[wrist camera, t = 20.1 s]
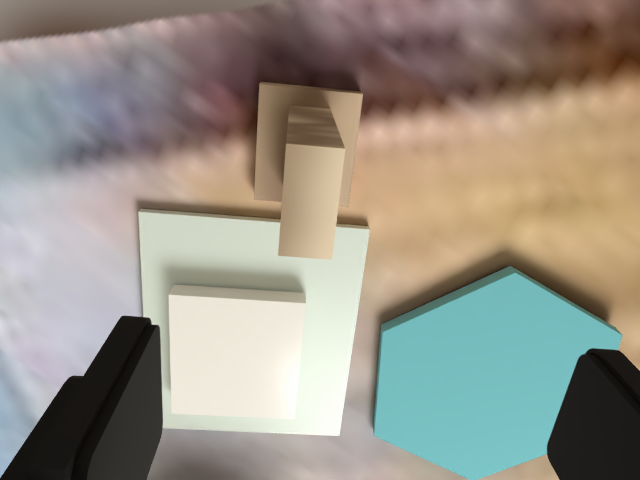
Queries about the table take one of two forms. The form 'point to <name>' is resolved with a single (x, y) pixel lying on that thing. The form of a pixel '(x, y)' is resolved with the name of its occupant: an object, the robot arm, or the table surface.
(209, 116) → the table surface
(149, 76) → the table surface
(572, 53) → the table surface
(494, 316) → the plaque
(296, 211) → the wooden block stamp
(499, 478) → the table surface
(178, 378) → the tile
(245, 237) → the board
